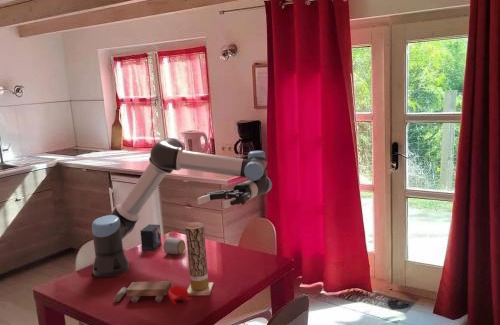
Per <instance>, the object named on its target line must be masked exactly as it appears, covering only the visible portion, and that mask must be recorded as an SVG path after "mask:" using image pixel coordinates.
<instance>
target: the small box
mask: <svg viewBox="0 0 500 325" xmlns="http://www.w3.org/2000/svg"><path fill="white" fill-rule="evenodd" d="M139 231H140V241H141V252H154V251H155V250H156V249H158V248H159V247H160V246H162V244H163V243H162V234H161V224H152V223H151V224H148V225H146V226H145V227H143V228H142V229H141V230H139Z"/></svg>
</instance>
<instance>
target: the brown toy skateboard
mask: <svg viewBox="0 0 500 325" xmlns="http://www.w3.org/2000/svg"><path fill="white" fill-rule="evenodd" d="M171 287H172V282H171V280H169V281H168V280H163V281H161V280H160V281H157V280H156V281H153V280H152V281H132V282H131V283H130V285H129V286H128V287H126V286H123V287H121V288H120V290H118V292H117V293H116V295H114V297H113V301H114V303H119V302H120V301H121V300H122V298H123V297H124V296H125V295H126V297H131V303H137V302H138V301H139V300H140V298H141V297H143V296H144V297H145V296H149V297H151V296H155V298H154V299H155V301H156V302H157V303H160V302H162V300H163V299H164V297H165V296H167V295H168V292H169V289H170V288H171Z"/></svg>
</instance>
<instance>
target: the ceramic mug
mask: <svg viewBox="0 0 500 325" xmlns="http://www.w3.org/2000/svg"><path fill="white" fill-rule="evenodd" d="M186 249H187V245H186V242H185V240H184V239H181V238H176V237H171V236H168V237H167V238H165V239H164V242H163V252H164V253H165V254H171V255H182V254H183V253H184V251H185V250H186Z"/></svg>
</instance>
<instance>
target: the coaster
mask: <svg viewBox="0 0 500 325" xmlns="http://www.w3.org/2000/svg"><path fill="white" fill-rule="evenodd" d="M208 284H209V285H208V287H207V288H206V289H204V290H200V291H196V290H193V289H192V288H191V282H190V284H189V285H188V288H187V289H186V290H187V292H188V297H189V296H210V294H211V292H212V289H213V286H214V282H212V281H211V282H208Z"/></svg>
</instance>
